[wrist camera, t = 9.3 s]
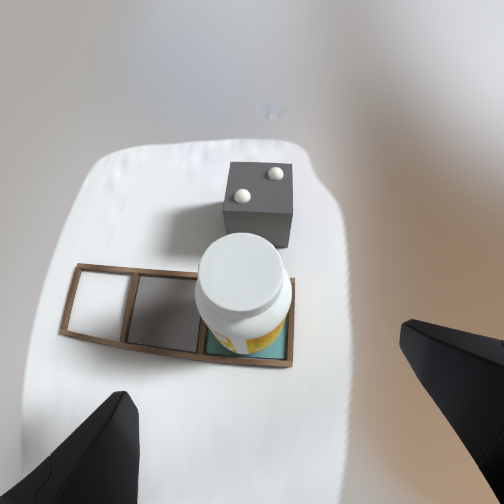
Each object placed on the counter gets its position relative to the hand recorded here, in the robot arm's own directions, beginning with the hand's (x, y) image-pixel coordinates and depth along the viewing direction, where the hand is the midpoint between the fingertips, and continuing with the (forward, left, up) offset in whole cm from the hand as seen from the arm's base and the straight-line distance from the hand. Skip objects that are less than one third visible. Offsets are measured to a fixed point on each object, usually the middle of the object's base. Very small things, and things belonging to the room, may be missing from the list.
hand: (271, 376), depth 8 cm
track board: (+8, +6, -13) cm, 16 cm away
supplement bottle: (+5, 0, -13) cm, 14 cm away
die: (+13, -4, -13) cm, 19 cm away
